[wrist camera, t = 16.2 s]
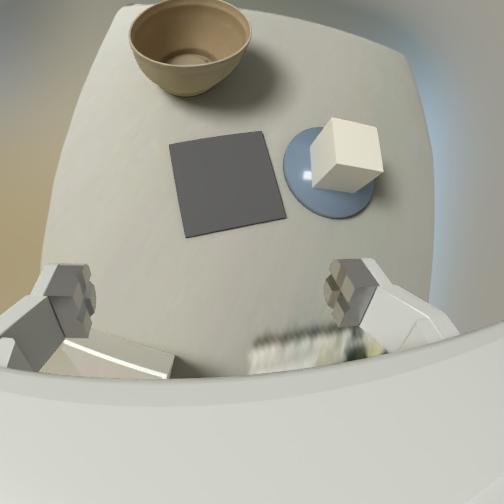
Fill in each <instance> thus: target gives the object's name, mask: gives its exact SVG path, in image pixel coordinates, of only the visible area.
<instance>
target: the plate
mask: <svg viewBox="0 0 504 504" xmlns="http://www.w3.org/2000/svg"><path fill="white" fill-rule="evenodd" d="M323 128H324V127H316V128H310V129H307V130H305V131H302V132H301V133H299V134H298V135H297V136H295V137H294V138H293V140H292V141H291V142H290V144H289V146H288V147H287V149H286V152H285V154H284V159H283V171H284V176H285V180H286V182H287V185H288V187H289V189H290V191H291V192H292V194H293V195H294V196H295V198H296V199H297V200H298V201H299V202H300V203H301V204H302V205H303V206H304V207H306V208H307V209H308V210H310V211H312V212H313V213H315V214H318V215H320V216H323V217H326V218H332V219H340V218H346V217H349V216H352V215H354V214H356V213H357V212H359V211H360V210H362V209H363V208H364V207H365V206H366V205H367V204H368V202H369V201H370V199H371V197H372V194H373V190H374V179H373V180H372V181H370V182H369V183H368V184H366V185H365V186H363V187H362V188H361V189H359V190H358V191H356V192H355V193H348V192H341V191H333V190H325V189H317V188H312V174H311V156H310V146H311V144H312V143H313V142H314V140H315V139H316V138H317V136H318V135H319V134H320V132H321V131H322V130H323Z"/></svg>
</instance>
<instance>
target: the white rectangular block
mask: <svg viewBox="0 0 504 504" xmlns="http://www.w3.org/2000/svg"><path fill="white" fill-rule="evenodd" d="M310 156H311V174H312V188H317V189H325V190H333V191H341V192H348V193H355V192H356V191H358V190H359V189H361V188H362V187H363V186H365V185H366V184H368V183H369V182H370V181H372V180H373V179H375V178H376V177H377V176H379V175H380V174H382V173H383V165H382V158H381V151H380V145H379V139H378V134H377V128H376V127H372V126H368V125H364V124H360V123H356V122H351V121H347V120H342V119H338V118H333V117H332V118H331V119H330V120H329V122H328V123H327V124H326V126H325V127H324V128H323V130H322V131H321V132H320V134H319V135H318V136H317V138H316V139H315V140H314V142H313V143H312V144H311V146H310Z"/></svg>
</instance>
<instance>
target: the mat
mask: <svg viewBox="0 0 504 504" xmlns="http://www.w3.org/2000/svg"><path fill="white" fill-rule="evenodd" d="M169 149H170V155H171V161H172V167H173V173H174V179H175V184H176V190H177V196H178V201H179V206H180V212H181V217H182V222H183V227H184V232H185V237H186V238H188V237H192V236H197V235H202V234H207V233H212V232H217V231H222V230H227V229H232V228H237V227H242V226H247V225H252V224H257V223H262V222H267V221H272V220H278V219H283V218H286V215H285V212H284V208H283V204H282V201H281V197H280V193H279V190H278V186H277V183H276V179H275V176H274V172H273V169H272V165H271V162H270V158H269V155H268V151H267V148H266V145H265V141H264V138H263V134H262V131H256V132H248V133H239V134H232V135H224V136H217V137H211V138H204V139H198V140H192V141H186V142H181V143H175V144H170V145H169Z"/></svg>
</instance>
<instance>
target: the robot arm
mask: <svg viewBox="0 0 504 504" xmlns="http://www.w3.org/2000/svg"><path fill="white" fill-rule="evenodd" d="M329 270H330V272H331V275H330V276H329V277H328V278H327V279H326V280H325V284H324V298H325V301H326V303H327V305H328V306H330V307H331V308H333V312H332V315H333V317H334V319H335V321H336V323H337V325H338V327H349V326H358V325H360V326H359V327H361V328H362V329H363V330H364V331H365V332H367V333H368V334H369V335H370V336H371V337H373V338H374V339H375V340H376V341H377V342H379V343H380V344H381V345H382V346H383V347H384V348H386V349H387V350H388V351H389V352H390V353H389V354H384V355H380V356H375V357H370V358H365V359H360V360H355V361H349V362H343V363H338V364H332V365H325V366H319V367H312V368H305V369H298V370H290V371H282V372H273V373H263V374H253V375H241V376H228V377H211V378H187V379H121V378H99V377H83V376H69V375H59V374H50V373H41V372H38V371H39V370H40V369H41V368H42V367H43V365H44V364H45V363H46V362H47V360H48V359H49V358H50V357H51V356H52V354H53V353H54V352H55V351H56V350H57V349H58V347H59V346H60V345H61V344H62V343H63V342H64V340H65V338H88V337H89V333H90V329H91V325H92V322H91V319H90V316H91V315H92V314H94V312H95V308H96V292H95V288H94V285H93V284H92V283H91V282H90V281H89V279H90V276H91V272H90V269H89V266H88V265H87V264H63V263H60V264H59V263H48V264H46V265H45V266H44V268H43V270H42V272H41V274H40V276H39V278H38V280H37V282H36V284H35V286H34V288H33V290H32V292H31V294H30V296H28V295H27V296H25V297H24V298H22V299H21V300H20V301H18V302H17V303H16V304H15V305H13V306H12V307H11V308H9V309H8V310H7V311H6V312H4V313H3V314H2V315H0V504H504V321H501V322H498V323H496V324H492V325H490V326H487V327H484V328H481V329H478V330H474V331H471V332H468V333H465V334H462V335H460V334H459V332H458V331H457V329H456V328H455V326H454V325H453V324H452V322H451V321H450V320H449V318H448V317H447V315H446V314H445V313H443V312H441V311H440V310H438V309H436V308H435V307H433V306H431V305H430V304H428V303H426V302H425V301H423V300H421V299H419V298H418V297H416V296H414V295H413V294H411V293H409V292H407V291H406V290H404V289H402V288H400V287H399V286H397V285H392V284H391V282H390V281H389V279H388V278H387V277H386V275H385V274H384V273H383V271H382V270H381V269H380V267H379V266H378V265H377V263H376V262H375V261H374V260H373V259H372V258H358V259H338V260H333V261H332V262H331V264H330V267H329Z"/></svg>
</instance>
